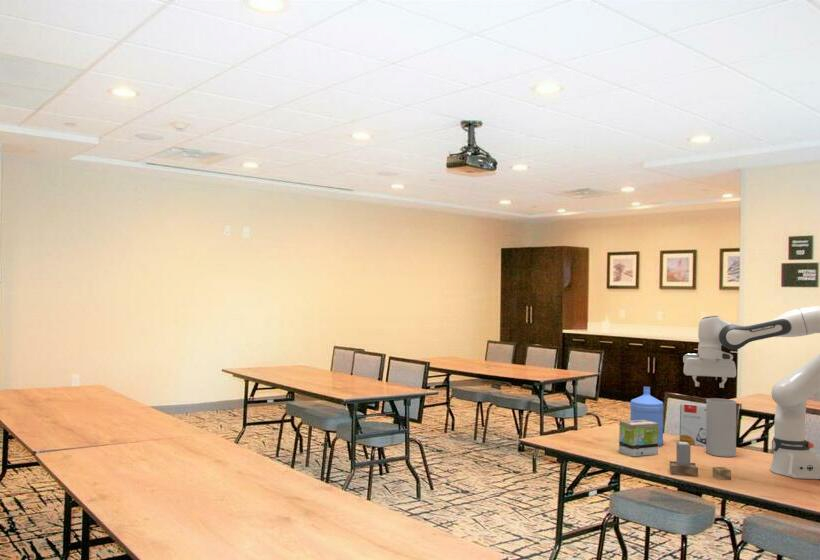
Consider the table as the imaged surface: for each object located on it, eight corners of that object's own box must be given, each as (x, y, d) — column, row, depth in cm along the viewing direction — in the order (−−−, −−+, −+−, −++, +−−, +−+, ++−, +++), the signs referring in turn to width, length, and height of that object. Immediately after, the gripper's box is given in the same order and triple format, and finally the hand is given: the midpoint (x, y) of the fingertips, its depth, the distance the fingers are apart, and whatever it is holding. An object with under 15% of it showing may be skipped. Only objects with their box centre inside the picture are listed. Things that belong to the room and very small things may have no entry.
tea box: (633, 457, 294) (634, 424, 295) (618, 452, 303) (618, 420, 304) (658, 454, 300) (659, 422, 301) (642, 449, 309) (643, 418, 310)
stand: (695, 471, 271) (695, 463, 271) (697, 476, 263) (697, 467, 263) (669, 469, 274) (669, 461, 274) (671, 474, 266) (671, 465, 266)
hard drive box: (679, 443, 324) (679, 403, 324) (680, 440, 330) (680, 401, 331) (713, 447, 316) (713, 406, 317) (714, 444, 323) (714, 404, 324)
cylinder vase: (700, 452, 306) (700, 399, 306) (718, 450, 311) (719, 397, 312) (723, 458, 295) (723, 403, 295) (742, 456, 300) (742, 401, 300)
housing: (687, 464, 270) (687, 441, 271) (690, 467, 266) (690, 444, 266) (676, 464, 271) (676, 441, 271) (679, 466, 267) (679, 443, 267)
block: (724, 476, 264) (724, 467, 264) (731, 480, 259) (731, 470, 259) (712, 476, 264) (712, 467, 264) (718, 480, 259) (719, 470, 259)
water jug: (660, 448, 313) (660, 390, 313) (626, 444, 321) (627, 387, 321) (665, 442, 326) (666, 386, 327) (633, 438, 334) (633, 384, 335)
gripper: (683, 353, 274) (683, 386, 274) (737, 355, 268) (737, 389, 268) (682, 352, 280) (682, 384, 280) (734, 354, 274) (734, 387, 274)
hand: (709, 387), depth 274 cm, fingers open, 8 cm apart
